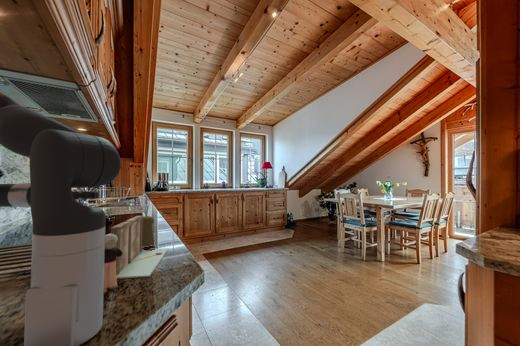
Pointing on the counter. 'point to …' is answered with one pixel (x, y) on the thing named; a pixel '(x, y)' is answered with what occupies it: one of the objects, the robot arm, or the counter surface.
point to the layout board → (143, 264)
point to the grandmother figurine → (111, 262)
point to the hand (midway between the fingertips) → (96, 195)
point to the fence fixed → (121, 244)
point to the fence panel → (135, 236)
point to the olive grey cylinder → (147, 231)
